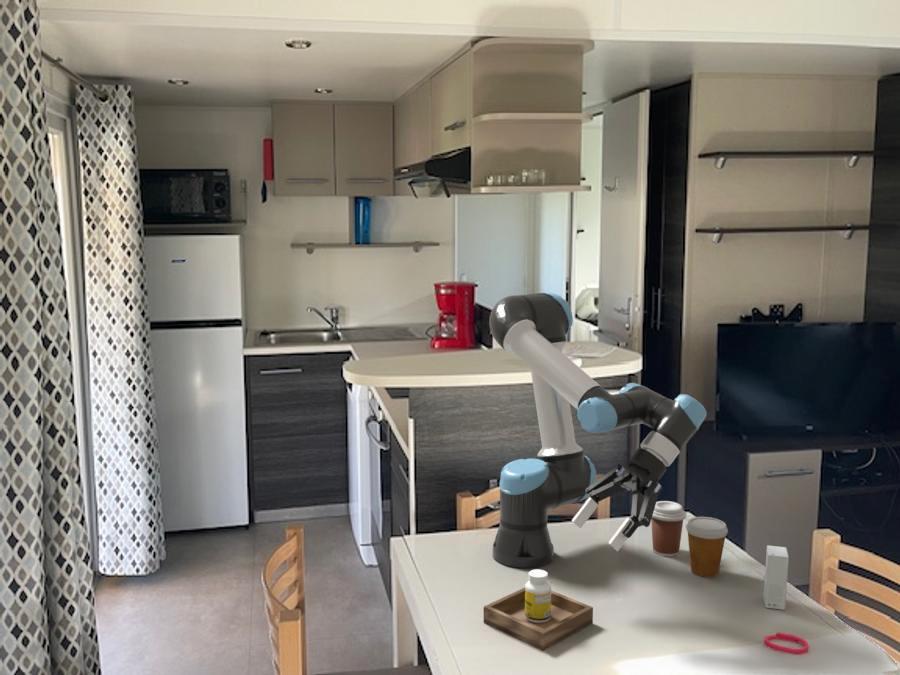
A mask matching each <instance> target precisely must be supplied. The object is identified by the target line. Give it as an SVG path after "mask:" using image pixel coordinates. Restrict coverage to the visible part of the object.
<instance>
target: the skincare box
mask: <svg viewBox="0 0 900 675" xmlns="http://www.w3.org/2000/svg"><path fill="white" fill-rule="evenodd" d="M787 549H788V548H787V547H785V546H777V545H776V546H775V545H766V553H765V555H766V556H765V570H764V584H763V585H764V586H763V602H764V607H765V608H767V609H774V610H775V609H776V610H781V611H782V610H783V611H784V610H786V605H787V604H786V603H787V601H786V600H787V588H788V572H789V558H790V557H789V552H788V550H787Z"/></svg>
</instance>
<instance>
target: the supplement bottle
mask: <svg viewBox="0 0 900 675" xmlns="http://www.w3.org/2000/svg"><path fill="white" fill-rule="evenodd" d="M527 578H528V581H527V582H525V585H524V588H525V617H526V619H527V620H529V621H530V622H533V623H544V622H547V621H549V620H550V618H551V591H552V585H551V583H550V582H549V574H548V571H545V570H544V569H536V568H535V569H532V570H530V571H529V572H528V577H527Z"/></svg>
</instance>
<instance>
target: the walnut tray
mask: <svg viewBox="0 0 900 675" xmlns="http://www.w3.org/2000/svg"><path fill="white" fill-rule="evenodd" d="M593 621H594V607H593V606H590V605H588V604H586V603H583V602H581V601H579V600H575V599H573V598H571V597H568V596H566V595H563V594H561V593H559V592H556V591H554V590H551V618H550V620H549V621H547V622H544V623H533V622H530V621H529V620H527V619H526V617H525V587H523V588H521V589H519V590H516V591H514V592H512V593H510V594H508V595H505V596H503V597H502V598H498V599H497V600H495V601H492V602H490V603H489V604H486V605H483V623H484V624H485V625H488V626H490V627H492V628H494V629H497V630H499V631H501V632H502V633H504V634H507V635H510V636H511V637H513V638H516V639H518V640H520V641H522V642H525V643H526V644H529V645H531V646H533V647H534V648H536V649H538V650H541V651H545V650H547V649H549V648H551V647H553V646H554V645H556V644H558V643H559V642H562V641H563V640H565V639H567V638H569V637H570V636H573V635H574V634H576V633H578V632H579V631H582V630H584V629H586V627H589V626H591V625H592V624H593V623H594V622H593Z"/></svg>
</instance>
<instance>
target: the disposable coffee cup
mask: <svg viewBox="0 0 900 675" xmlns="http://www.w3.org/2000/svg"><path fill="white" fill-rule="evenodd" d="M685 529H686V532H687V538H688V539H687V540H688V550H689V562H690V571H691V573H693V575H696V576H700V577H705V578H711V577H716V576H719V573H720V568H721V562H722V557H723V551H724V546H725V540H726V536H727V535H728V533H729V529H728V527H727V524H726V522H724V521H723V520H721V519H718V518H715V517H710V516H709V517H708V516H695V517H691V518H689V519H688V521H687V524H686V525H685Z"/></svg>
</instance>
